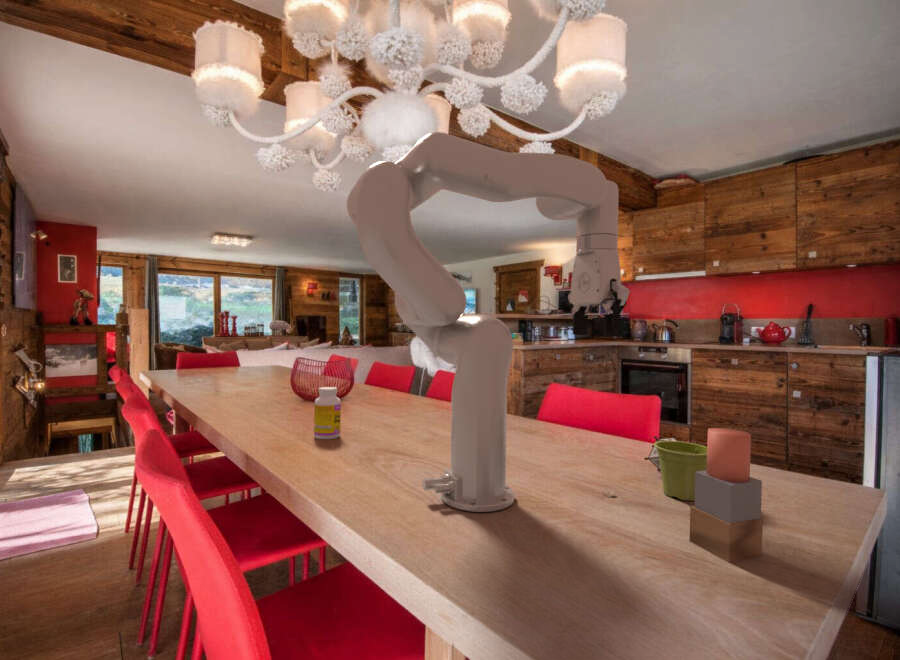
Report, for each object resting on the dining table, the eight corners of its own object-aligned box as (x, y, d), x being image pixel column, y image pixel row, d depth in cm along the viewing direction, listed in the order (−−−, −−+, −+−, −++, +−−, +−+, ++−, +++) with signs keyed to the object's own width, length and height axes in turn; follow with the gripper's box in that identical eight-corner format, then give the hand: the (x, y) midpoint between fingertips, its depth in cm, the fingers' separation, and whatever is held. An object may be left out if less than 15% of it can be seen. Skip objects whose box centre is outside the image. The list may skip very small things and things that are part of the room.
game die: (679, 496, 90) (706, 466, 84) (637, 478, 91) (660, 447, 85) (677, 464, 97) (702, 433, 91) (638, 447, 98) (660, 416, 92)
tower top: (730, 523, 58) (731, 485, 58) (694, 507, 63) (695, 471, 63) (761, 518, 60) (761, 480, 59) (723, 502, 65) (724, 468, 65)
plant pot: (645, 485, 86) (646, 439, 85) (695, 486, 85) (696, 440, 85) (667, 504, 76) (668, 453, 76) (723, 506, 76) (725, 455, 76)
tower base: (728, 563, 58) (729, 524, 58) (689, 541, 63) (690, 506, 63) (761, 555, 60) (762, 518, 60) (721, 535, 65) (721, 501, 65)
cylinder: (732, 484, 58) (733, 438, 58) (698, 472, 63) (699, 429, 63) (758, 480, 60) (759, 435, 60) (723, 468, 64) (724, 426, 64)
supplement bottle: (336, 440, 114) (337, 390, 114) (310, 440, 114) (311, 389, 114) (343, 434, 121) (343, 386, 121) (318, 433, 121) (319, 386, 121)
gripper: (555, 252, 94) (554, 334, 94) (610, 237, 78) (608, 336, 78) (586, 254, 96) (584, 334, 97) (645, 241, 80) (643, 336, 80)
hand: (595, 335), depth 87 cm, fingers open, 9 cm apart
